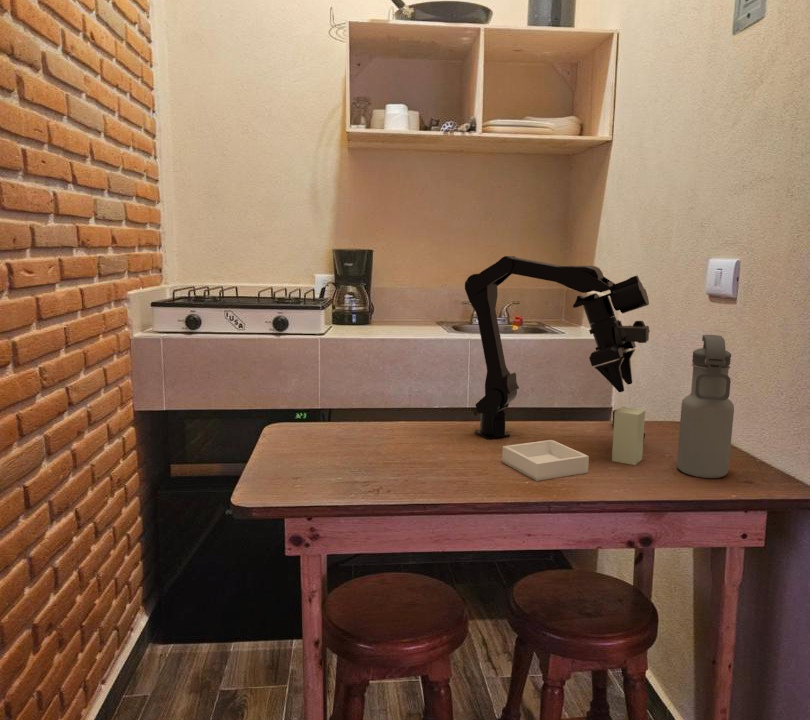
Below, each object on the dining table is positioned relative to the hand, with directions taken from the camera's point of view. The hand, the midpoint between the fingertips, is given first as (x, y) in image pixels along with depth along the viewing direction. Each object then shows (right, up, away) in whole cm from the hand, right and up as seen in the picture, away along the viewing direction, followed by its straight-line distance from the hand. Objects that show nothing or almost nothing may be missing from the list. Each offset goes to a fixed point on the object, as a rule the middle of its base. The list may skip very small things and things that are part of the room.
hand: (626, 387), depth 146 cm
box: (-19, -16, -6) cm, 26 cm away
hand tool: (+5, -13, +18) cm, 23 cm away
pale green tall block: (0, -16, -1) cm, 16 cm away
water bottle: (+13, -17, -8) cm, 23 cm away
